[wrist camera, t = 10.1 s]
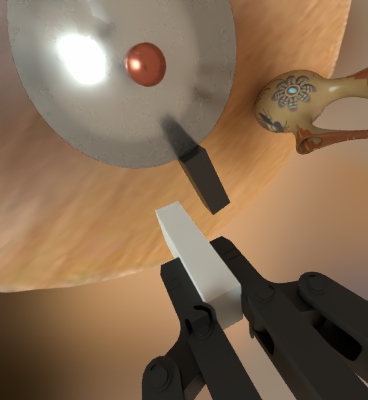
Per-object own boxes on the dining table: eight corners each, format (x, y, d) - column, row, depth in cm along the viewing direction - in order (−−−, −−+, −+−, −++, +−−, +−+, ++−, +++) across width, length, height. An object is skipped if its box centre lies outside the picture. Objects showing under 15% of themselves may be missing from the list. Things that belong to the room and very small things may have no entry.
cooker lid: (-67, -7, 17) (-92, -19, 14) (178, -156, 18) (196, -192, 15) (155, 239, 36) (161, 252, 34) (266, 160, 37) (281, 167, 35)
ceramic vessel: (286, 47, 45) (456, 35, 25) (301, 84, 50) (451, 98, 30) (227, 113, 46) (342, 150, 27) (248, 141, 52) (357, 190, 32)
